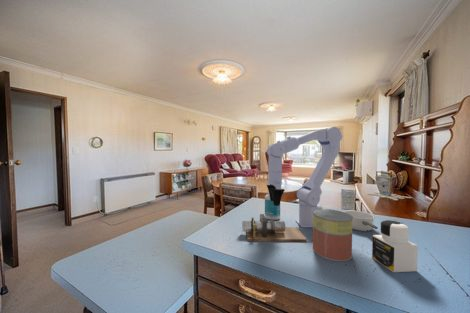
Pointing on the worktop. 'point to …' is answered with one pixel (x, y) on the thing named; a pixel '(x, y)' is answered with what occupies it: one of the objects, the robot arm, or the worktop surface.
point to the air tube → (271, 226)
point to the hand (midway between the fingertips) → (274, 202)
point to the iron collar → (263, 225)
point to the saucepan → (361, 220)
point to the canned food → (332, 234)
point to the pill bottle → (271, 209)
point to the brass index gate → (253, 229)
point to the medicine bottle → (395, 247)
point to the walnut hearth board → (279, 236)
